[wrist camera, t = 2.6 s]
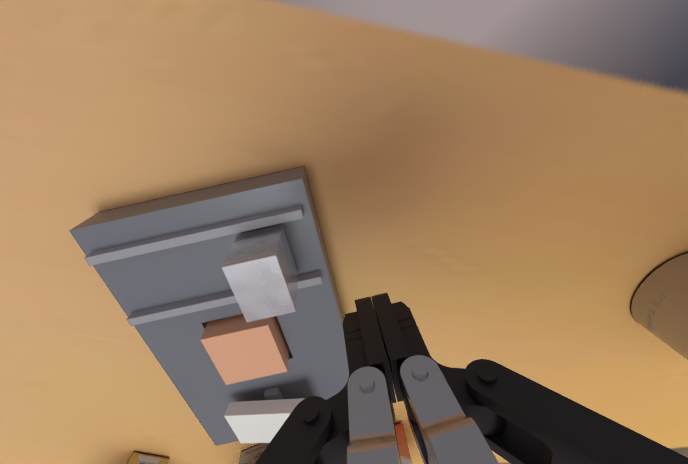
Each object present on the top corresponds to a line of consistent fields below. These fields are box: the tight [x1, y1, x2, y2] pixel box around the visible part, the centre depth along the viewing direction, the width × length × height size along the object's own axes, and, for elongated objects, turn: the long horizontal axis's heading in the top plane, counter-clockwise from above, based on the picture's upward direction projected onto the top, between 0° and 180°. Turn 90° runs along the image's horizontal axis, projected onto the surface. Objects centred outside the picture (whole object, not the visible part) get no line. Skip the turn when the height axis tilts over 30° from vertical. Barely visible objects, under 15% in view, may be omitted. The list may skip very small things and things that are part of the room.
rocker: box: [224, 398, 306, 443], centre depth 26 cm, size 7×4×1 cm, turn 101°
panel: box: [70, 166, 349, 445], centre depth 26 cm, size 15×24×4 cm, turn 11°
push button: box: [200, 314, 289, 385], centre depth 25 cm, size 5×5×3 cm
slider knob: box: [222, 224, 299, 322], centre depth 19 cm, size 3×4×4 cm
